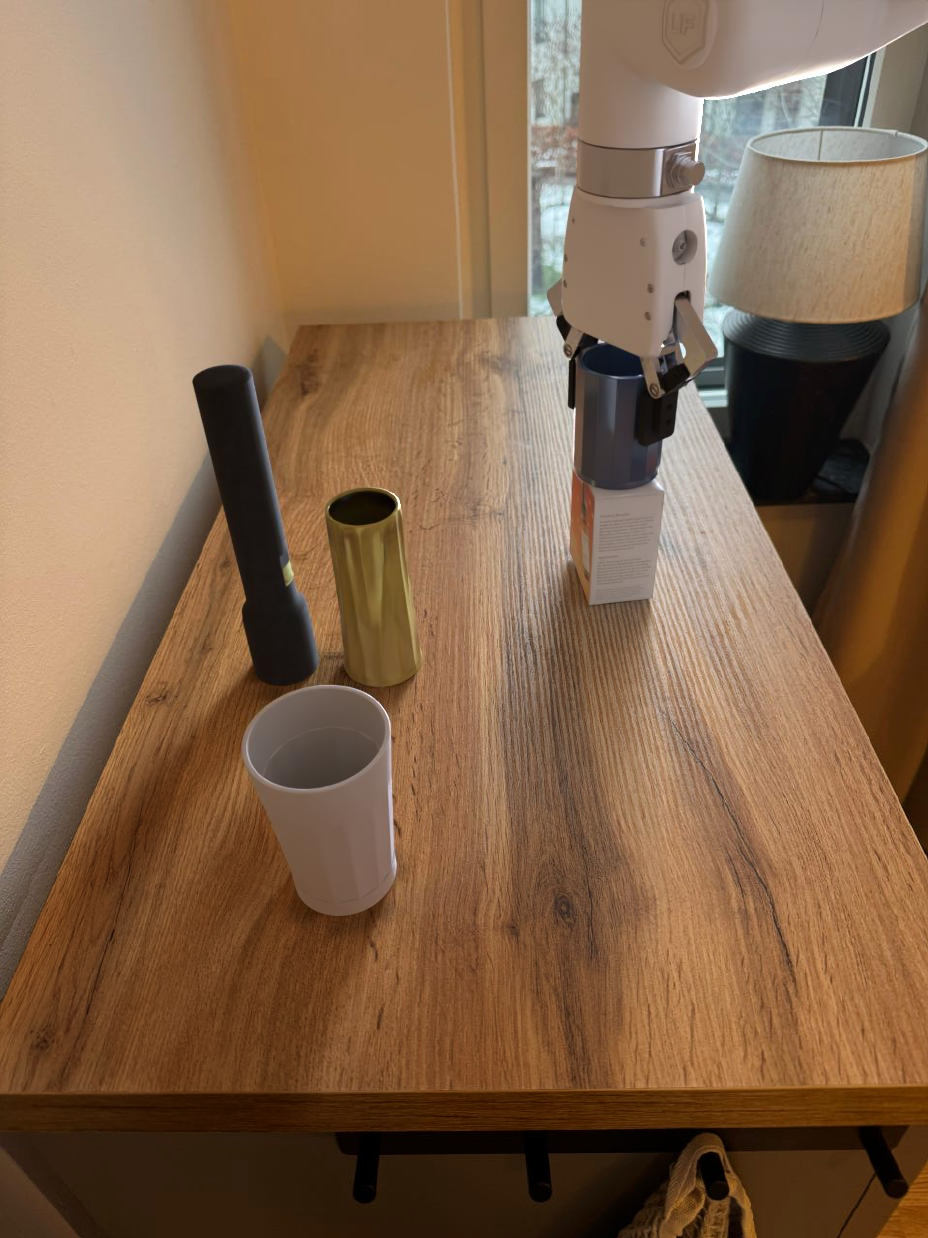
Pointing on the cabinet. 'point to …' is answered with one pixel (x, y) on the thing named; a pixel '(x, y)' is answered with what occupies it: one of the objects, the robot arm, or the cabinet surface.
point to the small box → (615, 540)
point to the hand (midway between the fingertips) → (619, 419)
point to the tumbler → (611, 420)
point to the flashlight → (255, 527)
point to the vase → (373, 587)
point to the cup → (327, 793)
